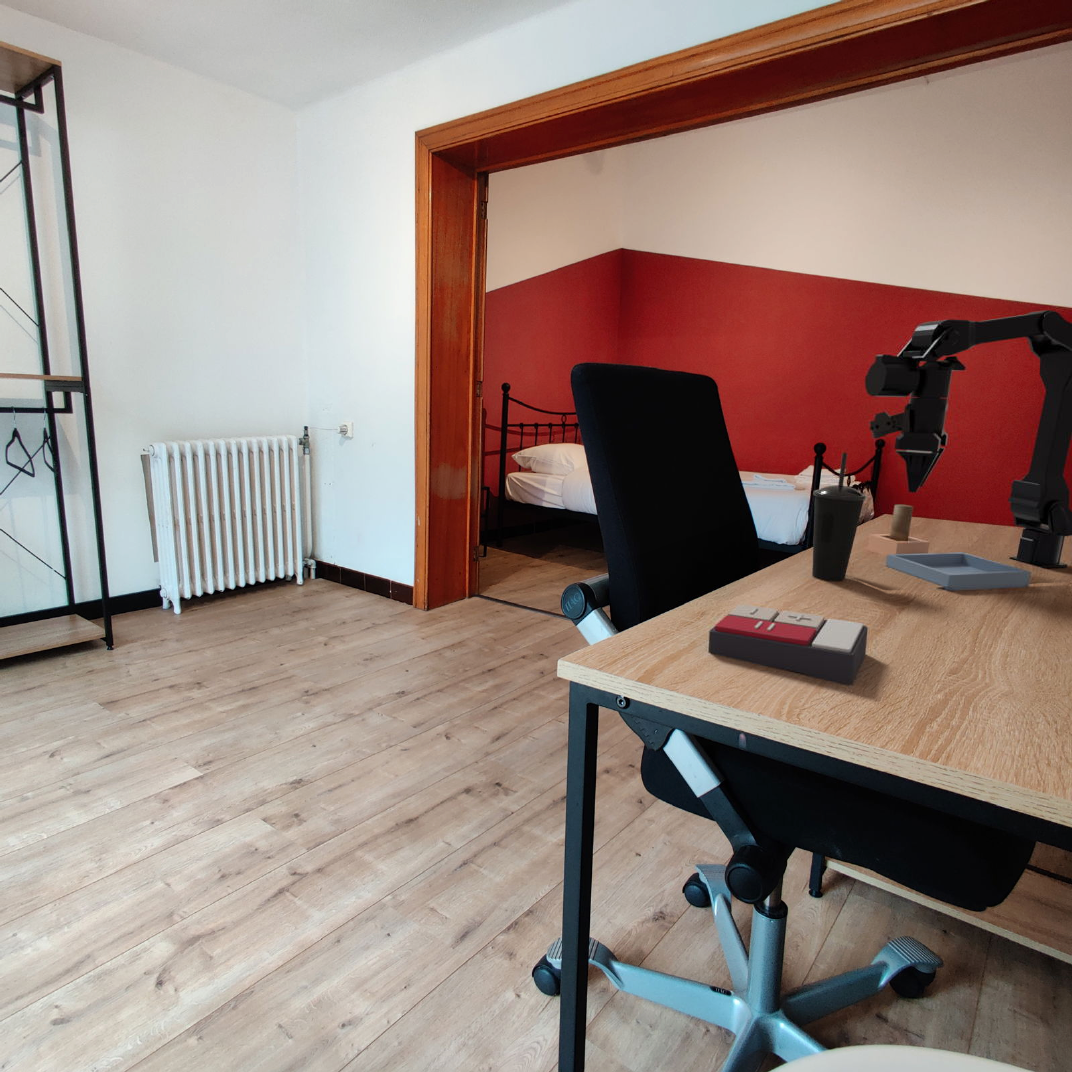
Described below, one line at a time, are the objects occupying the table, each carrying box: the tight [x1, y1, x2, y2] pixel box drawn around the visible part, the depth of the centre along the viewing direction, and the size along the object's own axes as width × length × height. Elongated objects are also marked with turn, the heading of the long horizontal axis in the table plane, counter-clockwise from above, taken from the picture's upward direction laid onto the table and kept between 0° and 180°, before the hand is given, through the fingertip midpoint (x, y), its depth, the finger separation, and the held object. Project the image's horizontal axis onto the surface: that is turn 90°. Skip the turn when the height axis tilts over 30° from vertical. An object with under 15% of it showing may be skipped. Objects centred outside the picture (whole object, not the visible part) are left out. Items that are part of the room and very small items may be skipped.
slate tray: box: [885, 551, 1032, 592], centre depth 116 cm, size 16×13×2 cm
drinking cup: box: [811, 452, 867, 582], centre depth 111 cm, size 8×8×20 cm
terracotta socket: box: [866, 533, 930, 558], centre depth 129 cm, size 7×7×4 cm
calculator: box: [708, 604, 869, 686], centre depth 79 cm, size 11×4×15 cm
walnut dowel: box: [889, 504, 914, 541], centre depth 128 cm, size 3×3×9 cm
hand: (915, 489), depth 122 cm, fingers open, 9 cm apart
